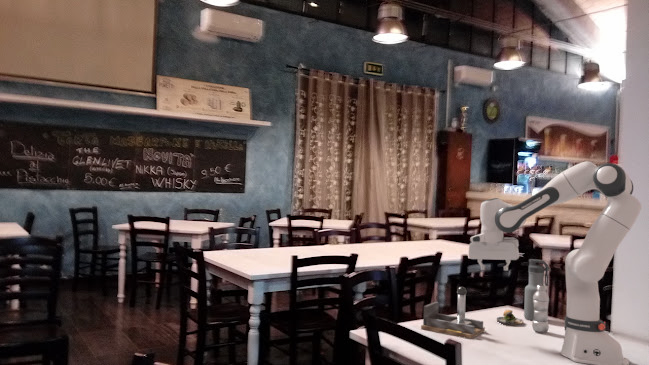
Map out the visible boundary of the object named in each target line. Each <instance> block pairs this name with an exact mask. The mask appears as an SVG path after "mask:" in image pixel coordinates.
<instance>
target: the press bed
mask: <svg viewBox="0 0 649 365" xmlns="http://www.w3.org/2000/svg"><path fill="white" fill-rule="evenodd" d="M439 306H440V305H439V301H434V302H431V303H429V304H426V305H424V306H423V319H422V320H423V321H422V322H423V323H422V325H421V326H420V329H421V330H425V331H429V332H433V333H434V332H435V333H437V334H438V333H439V334H444V335H449V336H454V337H459V336H460V337H459V338H464V337H465V339H469V338H470V339H469V340H472V339H473V338H475V337H477V336H479V335H480V334H482V333H483V331H484V332H485V331H486V330H485V328H486V327H484V321H483V320H478V319H472V318H468V317H467V318H466V317H465V321H470V322H472V326H471V325H466V324H460V323H455V322H451V321H453V320H456V319H457V316H456V315H449V314H443V313H439ZM481 332H482V333H481ZM478 334H479V335H478ZM476 335H477V336H476ZM474 336H475V337H474ZM471 338H472V339H471Z"/></svg>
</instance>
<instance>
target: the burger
mask: <svg viewBox="0 0 649 365" xmlns="http://www.w3.org/2000/svg"><path fill="white" fill-rule="evenodd" d="M502 315H503V316H499V317H497V318H496V321H497V322H499V323H501V324H500V325H502V324H503V326H505V325H520V324H523V323H524V320H523V319H521V318H518V317H516V316H515V315H514V314H513V310H511V309H507V307H506V306H505V311H504V312H503V314H502ZM497 322H496V323H497ZM499 323H498V324H499Z"/></svg>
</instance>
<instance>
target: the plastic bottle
mask: <svg viewBox="0 0 649 365" xmlns="http://www.w3.org/2000/svg"><path fill="white" fill-rule="evenodd" d="M546 289H547V286H546V285H545V284H543V285H537V291H536V292H535V294H534V295H533V302H534V319H533V321H532V330H533V331H535V332H537V333H542V334H543V333H548V331H549V328H550V326H549V320H548V310H549V303H550V298H549V294H548V292H547V293H546V292H545V290H546Z"/></svg>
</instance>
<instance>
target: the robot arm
mask: <svg viewBox="0 0 649 365" xmlns="http://www.w3.org/2000/svg"><path fill="white" fill-rule="evenodd" d="M591 190H597V192H599V194H601V195H602V196H604V197H605V198H606V199H607V202H606V205H605V206H604V208H603V209H602V211H601V212H600V213H599V215H598V216H597V218H596V219H595V220H594V221H593V223H592V225H591V226H590V228H589V229H588V231H587V233H586V236H585V238H584V240H583V241H582V243H581V246H580V247H579V248H576V249H573V250H571V251H570V252H569V253H568V254H567V255H566V257H565V263H564V264H565V265H564V267H565V286H566V287H565V288H566V310H565V311H566V314H565V316H564V326H563V327H564V339H563V342H562V347H561V349H560V355H562V356H564V357H566V358H568V359H570V360H572V361H573V362H575V363H582V364H589V365H630V359H629V358H628V357H627V356H624V354H623V349H622V346H621V344H620V342H619V341H618V340H616V339H615V337H613V336H611V335H610V334H609V333H608V332H607V331H606V321H603V320H602V319H600V309H601V307H600V305H601V298H600V292H599V281H600V280H601V279H603V277H604V275H605V272H606V270H607V268H608V267H609V265H610V262H611V261H612V259H613V257H614V254H615V252H616V250H618V247H619V246H620V244H621V243H622V242H623V240H624V239H625V238H626V236H627V234H628V233H629V232H630V230H631V229H632V227H633V226H634V224H635V222H636V221H637V218H638V217H639V214H640V212H641V210H642V203H641V201H640V200H639V199H638V198H637V197H635V195H632V194H633V192H634V184H633V181H632V180H631V178H630V175H629V173H627V172H626V171H625V170H624V169H623V167H621V166H620V165H619V164H616V163H612V162H606V163H602V164H601V165H599V166H598V165H596V164H595V163H594V162H591V161H587V160H586V161H582V162H580V163H577V164H575V165H572V166H571V167H568V168H567V169H565V170H563V171H562V172H560V173H558V174H557V175H555V176H554V177H553V178H552V179H551V180H550V181H548V182H547V183H546V184H545V185H544V186H543V187H542V188H541V189H540V190H539V191H538V192H536V193H535V194H534V195H532V196H530V197H529V198H528V197H527V199H524V200H523V201H521V202H520V203H518V204H516V205H514V204H511V203H508V202H505V201H503V200H501V199H500V198H499V197H494V198H490V199H486V200H483V201H482V202H481V204H480V210H479V211H480V212H479V216H480V218H479V219H480V223H481V229H480V233H478V234H476V235H473V236H471V237H470V239H469V241H470V243H469V245H468V258H469V259H470V260H477V263H478V265H479V266H480V270H481V271H485V270H486V265H484V264H483V260H496V261H497V260H498V261H499V260H500V261H501V260H502V261H504V260H505V263H506V265H503V271H505V272H506V271H509V265H510V263H512V262H511V261H517V260H519V258H520V252H519V246H520V244H519V239H517V238H515V237H513V236H511V237H508V236H507V237H506V236H504V233H506V234H507V233H508V234H510V233H514V232H516V231H517V230H518V229H520V228H521V227H523V226H524V225H525V223H526V222H527V219H528V218H530V217H532V216H534V215H535V214H537V213H538V212H540V211H542V210H544V209H546V208H549V207H552V206H555V205H559V204H563V203H566V202H568V201H572V200H573V199H576V198H577V197H579V196H580V195H581V196H582V194H584V193H586V192H588V191H591Z"/></svg>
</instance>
